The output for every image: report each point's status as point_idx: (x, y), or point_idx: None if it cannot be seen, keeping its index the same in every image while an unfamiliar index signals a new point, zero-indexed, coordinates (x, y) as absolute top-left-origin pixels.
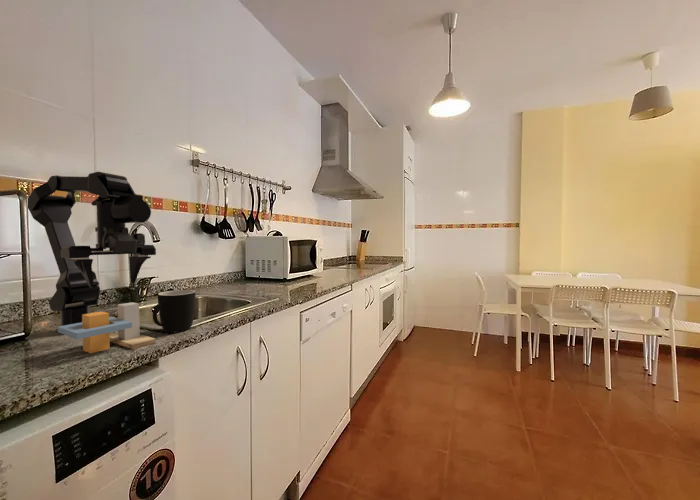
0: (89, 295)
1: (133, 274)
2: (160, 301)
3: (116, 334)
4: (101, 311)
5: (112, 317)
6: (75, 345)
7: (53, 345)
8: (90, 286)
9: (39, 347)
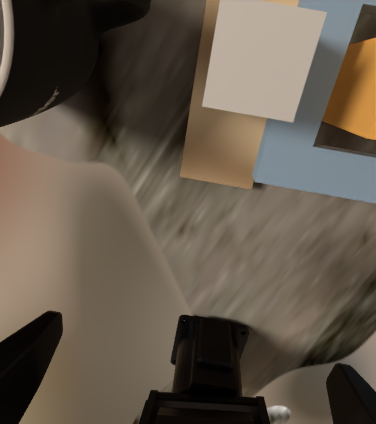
0: (189, 421)
1: (13, 376)
2: (44, 19)
3: (229, 157)
4: (368, 136)
5: (260, 165)
6: (320, 203)
7: (332, 260)
8: (352, 372)
9: (354, 274)
